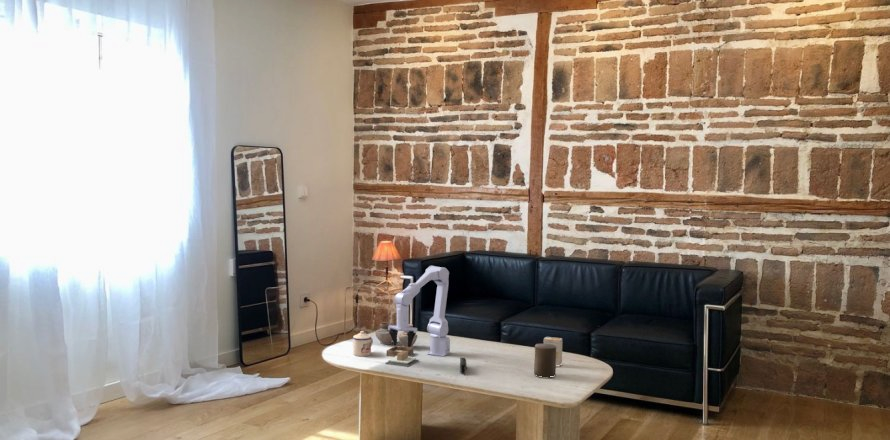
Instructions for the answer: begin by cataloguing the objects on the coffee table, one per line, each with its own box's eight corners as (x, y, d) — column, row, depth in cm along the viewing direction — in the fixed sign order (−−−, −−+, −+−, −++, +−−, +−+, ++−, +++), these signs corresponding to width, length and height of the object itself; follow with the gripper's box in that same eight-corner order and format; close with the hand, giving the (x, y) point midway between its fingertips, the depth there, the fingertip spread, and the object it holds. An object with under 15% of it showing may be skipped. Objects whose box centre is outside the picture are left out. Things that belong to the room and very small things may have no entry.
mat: (418, 360, 360) (418, 359, 360) (408, 366, 349) (408, 365, 349) (396, 357, 365) (396, 356, 365) (385, 363, 354) (385, 362, 354)
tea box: (413, 354, 373) (413, 348, 373) (404, 359, 364) (404, 352, 364) (395, 352, 377) (395, 345, 377) (386, 356, 368) (386, 350, 368)
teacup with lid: (362, 357, 364) (362, 334, 363) (349, 354, 370) (349, 331, 369) (378, 352, 374) (379, 329, 373) (365, 349, 379) (365, 327, 378)
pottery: (409, 351, 378) (409, 328, 377) (370, 344, 391) (370, 321, 391) (422, 346, 387) (422, 324, 386) (384, 339, 401) (384, 318, 400)
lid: (416, 359, 360) (416, 351, 360) (407, 365, 351) (407, 356, 350) (397, 357, 364) (397, 349, 363) (388, 362, 354) (388, 353, 354)
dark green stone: (459, 356, 351) (460, 364, 336) (465, 356, 351) (467, 364, 336) (459, 367, 351) (460, 375, 336) (465, 367, 351) (466, 375, 336)
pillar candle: (550, 379, 332) (551, 346, 331) (530, 375, 337) (531, 343, 336) (558, 374, 340) (560, 342, 339) (539, 371, 345) (540, 339, 344)
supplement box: (562, 365, 356) (563, 338, 355) (559, 367, 352) (560, 340, 350) (545, 362, 359) (546, 336, 358) (542, 365, 355) (543, 338, 354)
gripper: (385, 318, 354) (385, 346, 355) (412, 320, 349) (412, 349, 350) (391, 315, 361) (391, 342, 362) (419, 318, 355) (418, 346, 356)
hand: (402, 345), depth 356 cm, fingers open, 7 cm apart
